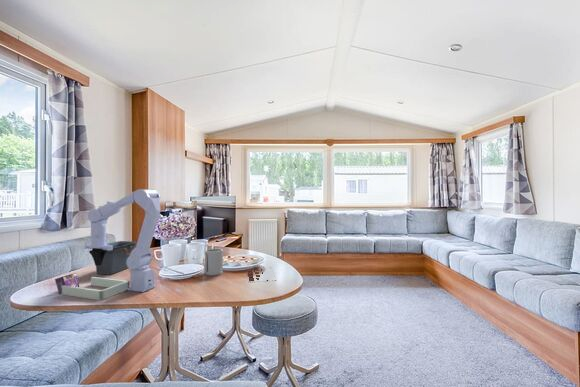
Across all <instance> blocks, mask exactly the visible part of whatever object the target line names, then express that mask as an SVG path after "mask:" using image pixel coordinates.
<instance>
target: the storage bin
mask: <svg viewBox="0 0 580 387" xmlns="http://www.w3.org/2000/svg"><path fill="white" fill-rule="evenodd" d="M106 244H107V245H111V246H113V250H110V251H108V250H107V252H106V254H105V256H104V258H103V261H102V265H99V266H95V270H96V274H99V275H113V274H115V273H119V272H121V271H123V270H126V269H129V268H128V267H127V264H126V261H127V258H128V257H129V256H130V254H131V252H132V250H133V249H134V248H135V247H136V245H137V241H133V240H131V241H130V240H128V241H126V240H119V241H113V242H108V243H107V242H106Z"/></svg>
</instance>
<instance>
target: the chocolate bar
mask: <svg viewBox="0 0 580 387" xmlns="http://www.w3.org/2000/svg"><path fill="white" fill-rule="evenodd" d="M255 271H259V270H258V268H254V272H255ZM261 271H262V269H261ZM247 272H248V274H247V278H248V277H249V281H254V278H253V272H252V269H249V270H247V269H246V273H247ZM255 274H259V272H255ZM262 274H263V272H262ZM256 277H260V275H256ZM256 279H257V280H259V278H256Z"/></svg>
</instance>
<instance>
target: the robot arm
mask: <svg viewBox="0 0 580 387" xmlns="http://www.w3.org/2000/svg"><path fill="white" fill-rule="evenodd" d="M160 199H161V195H160V193H159V192H158V191H157V190H156V189H151V188H150V189H142V188H139V189H136V190H134V191H132V192H131V193H129V194H127V195H125V196H124V197H121V198H120V199H118V200H117V201H114V200H108V201H106V203H105V204H103V205H99V206H98V208H91V209H90V210H89V211H88V212H87V219H88V220H89V222H90V243H85V244H83V245H84V246H83V247H84V250H87V249H89V250H88V251H89V252H88V253H89V254H90V255H91V257H92V260H93V262H94V266H95V267H96V266H99V265H102V261H103V258H104V256H105V254H106V252H107V250H108V251H110V250H113V246H111V245H107V242H106V241H107V239H106V238H107V230H106V229H107V228H106V227H107V226H106V225H107V222H108V219H109V217H112V216H114V215H116V214H118V213H119V212H120V211H121V209H122V208H124V207H126V206H129V205H131V204H134V203H136V204H137V205H138V206H139V207H140V208H142V209H143V211H145V215H144V219H143V223H142V224H141V225H142V226H141V229H140V232H139V235H138V240H137V241H136V246H134V249H133V250H132V252H131V254H130V256H129V257H128V258H127V261H126V264H127V267H128V268H127V269H129V273H130V274H129V281H130V288H127V289H126V291H130V292H137V293H139V292H140V293H144V292H147V291H149V290H151V289H153V288H156V287H157V286H156V285H155V271H154V270H153V269H151V268H150V264H151V262H152V259H153V256H152V253H153V250H152V249H151V245H152V241H153V238H154V234H155V231H156V228H157V225H158V221H159V218H160V214H161V211H162V210H161V204H160V203H161V202H160V201H161V200H160Z"/></svg>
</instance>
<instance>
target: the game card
mask: <svg viewBox="0 0 580 387" xmlns="http://www.w3.org/2000/svg"><path fill="white" fill-rule="evenodd" d="M64 278H65V279H66V280H64ZM72 278H73V280H72ZM54 281H55V285H56V288H57V291H58V295H62V286H64V285H65V286H72V285H73V283H74V282H75V286H74V287H80V284H79V280H78V277H77V274H76V272H74V273H71V274H67V275H64V276H61V277H57V278H54Z"/></svg>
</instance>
